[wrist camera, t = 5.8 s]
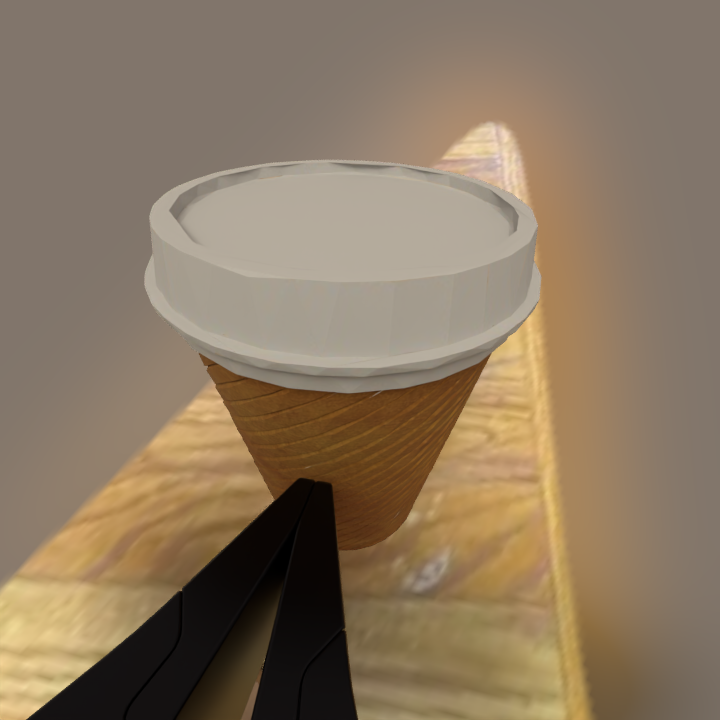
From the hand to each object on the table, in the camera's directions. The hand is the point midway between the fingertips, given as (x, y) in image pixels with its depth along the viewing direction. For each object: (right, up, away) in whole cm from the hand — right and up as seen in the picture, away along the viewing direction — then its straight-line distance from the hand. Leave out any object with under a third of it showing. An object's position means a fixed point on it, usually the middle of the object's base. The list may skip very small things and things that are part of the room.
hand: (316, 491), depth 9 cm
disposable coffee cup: (0, -2, +7) cm, 8 cm away
